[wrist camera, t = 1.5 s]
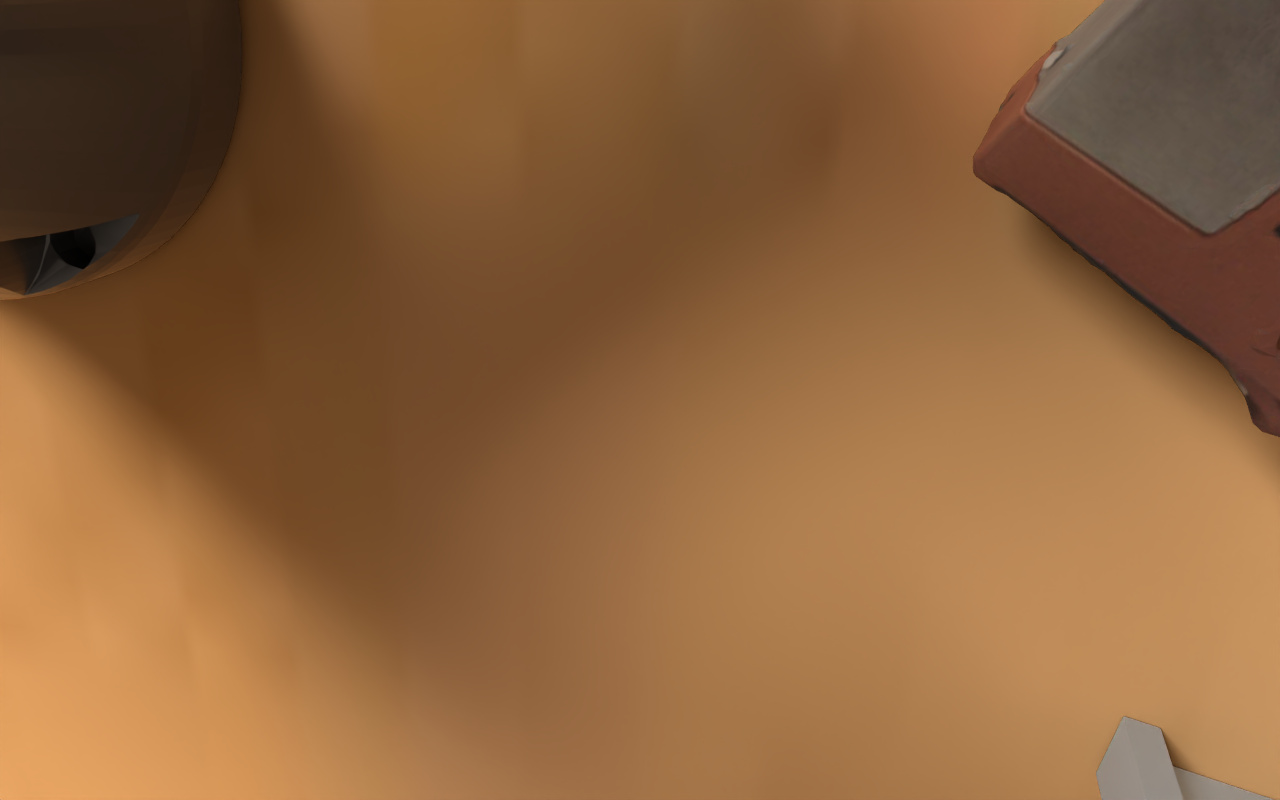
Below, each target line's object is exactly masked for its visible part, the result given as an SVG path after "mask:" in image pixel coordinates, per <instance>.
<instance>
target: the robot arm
mask: <svg viewBox="0 0 1280 800" xmlns="http://www.w3.org/2000/svg"><path fill="white" fill-rule="evenodd" d="M241 73H242V36H241V21H240V13H239V5H238V0H0V300H6V299H20V298H28V297H35V296H42V295H47V294H51V293H55V292H59V291H62V290H65V289H68V288H71V287H74V286H77V285H80V284H83V283H86V282H89V281H92V280H95V279H97V278H100V277H103V276H106V275H109V274H112V273H115V272H117V271H120V270H122V269H124V268H126V267H129V266H131V265H133V264H134V263H136V262H138V261H140V260H142V259H143V258H145V257H147V256H148V255H150V254H151V253H152V252H154V251H155V250H157V249H158V248H159V247H161V246H162V245H163V244H164V243H165V242H167V241H168V240H169V239H170V238H171V237H172V236H173V235H174V234H175V233H176V232H177V231H178V230H179V229H180V228H181V227H182V226H183V225H184V224H185V223H186V222H187V220H188V219H189V218H190V217H191V216H192V214H193V213H194V212H195V210H196V209H197V208H198V206H199V205H200V203H201V202H202V200H203V199H204V197H205V196H206V194H207V192H208V190H209V189H210V187H211V185H212V183H213V182H214V179H215V177H216V175H217V173H218V171H219V169H220V166H221V164H222V162H223V159H224V156H225V154H226V151H227V148H228V145H229V142H230V138H231V135H232V131H233V128H234V123H235V118H236V114H237V109H238V102H239V95H240V87H241Z"/></svg>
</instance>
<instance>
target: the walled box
mask: <svg viewBox="0 0 1280 800" xmlns="http://www.w3.org/2000/svg"><path fill="white" fill-rule="evenodd" d="M1096 776H1097V781H1098V785H1099V790H1100V794H1101V799H1102V800H1274V799H1271V798H1268V797H1265V796H1262V795H1259V794H1256V793H1253V792H1250V791H1247V790H1244V789H1240V788H1237V787H1234V786H1231V785H1228V784H1225V783H1222V782H1219V781H1216V780H1213V779H1210V778H1207V777H1204V776H1201V775H1198V774H1195V773H1192V772H1189V771H1186V770H1183V769H1180V768H1177V767H1174V766H1172V763H1171V759H1170V756H1169V753H1168V750H1167V747H1166V744H1165V741H1164V738H1163V734H1162V731H1161V728H1158V727H1155V726H1152V725H1149V724H1146V723H1143V722H1140V721H1137V720H1134V719H1131V718H1128V717H1125V716H1123V718H1122V720H1121V722H1120V724H1119V727H1118V729H1117V731H1116V733H1115V735H1114V737H1113V739H1112V741H1111V743H1110V745H1109V747H1108V749H1107V751H1106V753H1105V756H1104V758H1103V760H1102V762H1101V764H1100V766H1099V768H1098V770H1097V772H1096Z"/></svg>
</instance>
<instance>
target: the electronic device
mask: <svg viewBox="0 0 1280 800" xmlns="http://www.w3.org/2000/svg"><path fill="white" fill-rule="evenodd" d="M973 171H974V174H975V175H976V177H978V178H979V179H980V180H982V181H983V182H985V183H986V184H988V185H989V186H991V187H992V188H994V189H995V190H997V191H999V192H1001V193H1004V194H1006V195H1008V196H1009V197H1010V198H1011V199H1012V200H1014V201H1015V202H1017V203H1018V204H1020V205H1021V206H1023V207H1024V208H1026V209H1027V210H1029V211H1030V212H1031V213H1032V214H1034V215H1035V216H1036V217H1037V218H1039V219H1040V220H1041V221H1042V222H1044V223H1045V224H1046V225H1047V226H1049V227H1050V228H1051V229H1052V230H1053V231H1054V232H1055V233H1056V234H1057V235H1058V236H1059V237H1060V238H1061V239H1062V240H1064V241H1065V242H1067V243H1068V244H1070V246H1071V247H1072V248H1073V250H1074V251H1076V252H1077V253H1079V254H1081V255H1082V256H1083V257H1084V258H1085V259H1086V260H1087V261H1088V262H1089V263H1091V264H1092V265H1093V266H1095V267H1097V268H1098V269H1100V270H1102V271H1104V272H1105V273H1106V274H1107V275H1108V276H1109V277H1111V278H1112V279H1113V280H1114V281H1115V282H1116V283H1117V284H1118V285H1120V286H1121V287H1122V288H1123V289H1124V290H1125V291H1126V292H1128V293H1129V294H1130V295H1131V296H1132V297H1133V298H1135V299H1136V300H1138V301H1139V302H1140V303H1142V304H1143V305H1145V306H1146V307H1147V308H1149V309H1150V310H1152V311H1153V312H1154V313H1155V314H1157V315H1158V316H1159V317H1160V318H1161V319H1163V320H1164V321H1165V322H1166V323H1167V324H1168V325H1169V326H1170V327H1171V328H1172V329H1173V330H1175V331H1177V332H1179V333H1180V334H1181V335H1183V336H1184V337H1186V338H1188V339H1190V340H1191V341H1193V342H1195V343H1196V344H1198V345H1199V346H1200V347H1202V348H1203V349H1205V350H1206V351H1207V352H1208V353H1210V354H1211V355H1212V356H1214V357H1215V358H1216V359H1218V361H1219V362H1220V363H1221V364H1222V365H1223V366H1224V367H1225V368H1226V369H1227V370H1228V372H1229V373H1230V375H1231V377H1232V378H1233V380H1234V381H1235V383H1236V384H1237V386H1238V387H1239V389H1240V390H1241V392H1242V394H1243V395H1244V397H1245V399H1246V402H1247V405H1248V408H1249V412H1250V415H1251V419H1252V422H1253V423H1254V424H1255V425H1256V426H1257V427H1258V428H1259V429H1260V430H1261V431H1262V432H1266V433H1269V434H1272V435H1275V436H1278V437H1280V0H1105V1H1104V2H1103V3H1102V4H1101V5H1100V6H1099V7H1098V8H1097V9H1096V10H1095V11H1094V12H1093V13H1092V14H1091V15H1090V16H1089V17H1087V18H1086V19H1085V20H1084V21H1083V22H1082V23H1081V24H1080V25H1079V26H1078V27H1077V28H1076V29H1075V30H1074V31H1073V32H1072V33H1071V34H1069V35H1068V36H1066V37H1064V38H1062V39H1060V40H1058V41H1057V42H1055V43H1054V44H1053V45H1052V48H1051V49H1050V50H1049V51H1048V52H1047V53H1046V54H1045V55H1044V56H1042V57H1041V58H1040V59H1039V60H1038V61H1037V62H1036V63H1035V64H1034V65H1033V66H1032V67H1031V68H1030V69H1029V70H1028V71H1027V73H1026V74H1025V75H1024V76H1023V77H1022V78H1021V79H1020V80H1019V81H1018V82H1017V83H1016V84H1015V85H1014V86H1013V87H1012V88H1011V90H1010V91H1009V93H1008V94H1007V97H1006V99H1005V100H1004V102H1003V103H1002V105H1001V106H1000V109H999V113H998V114H997V115H996V117H995V118H994V119H993V121H992V122H991V125H990V127H989V130H988V132H987V133H986V135H985V137H984V139H983V141H982V143H981V145H980V146H979V148H978V150H977V151H976V153H975V155H974V156H973Z"/></svg>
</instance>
